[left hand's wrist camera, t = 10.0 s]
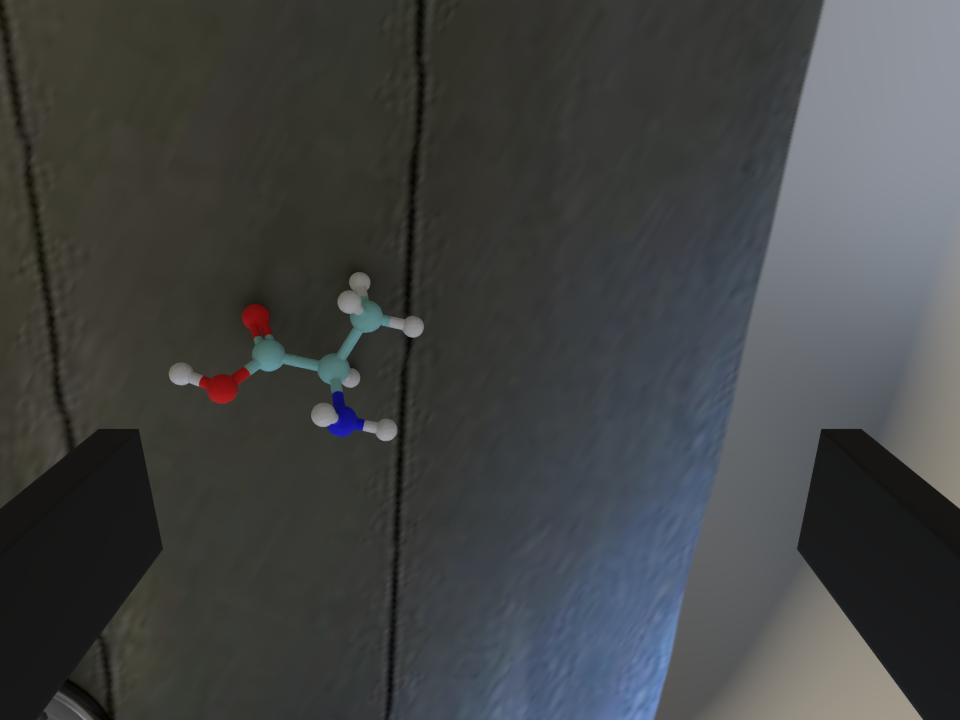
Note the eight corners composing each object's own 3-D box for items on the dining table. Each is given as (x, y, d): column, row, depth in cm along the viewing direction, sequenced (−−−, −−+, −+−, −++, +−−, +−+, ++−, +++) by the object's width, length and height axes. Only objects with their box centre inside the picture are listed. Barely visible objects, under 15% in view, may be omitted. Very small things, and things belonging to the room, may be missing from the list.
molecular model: (327, 194, 34) (309, 350, 28) (439, 290, 40) (443, 433, 34) (187, 286, 38) (147, 435, 33) (307, 359, 45) (292, 493, 39)
